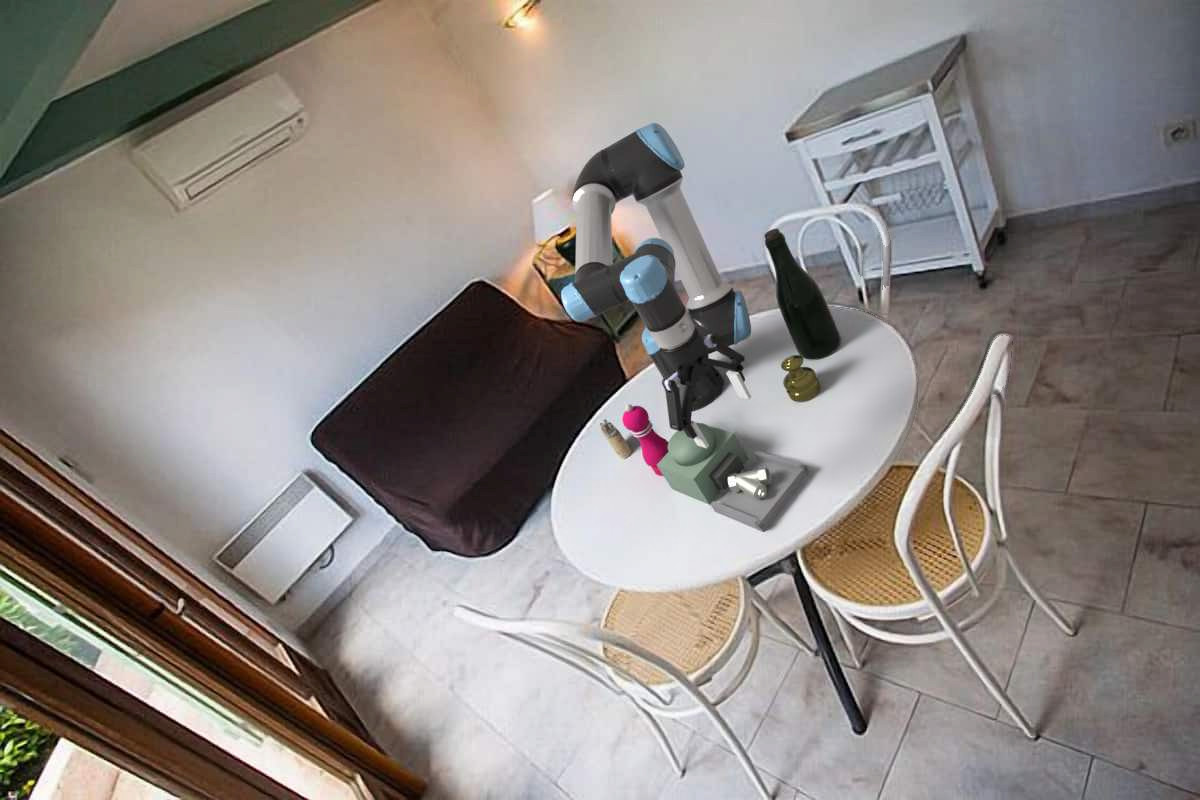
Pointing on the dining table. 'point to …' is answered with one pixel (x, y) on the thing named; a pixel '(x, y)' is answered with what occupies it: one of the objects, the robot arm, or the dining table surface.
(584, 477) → the dining table surface
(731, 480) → the pipe fitting
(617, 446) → the tan cylindrical piece
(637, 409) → the pepper mill
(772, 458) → the tray
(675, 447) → the mower housing
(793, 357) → the brass rounded piece
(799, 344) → the dark green wine bottle
